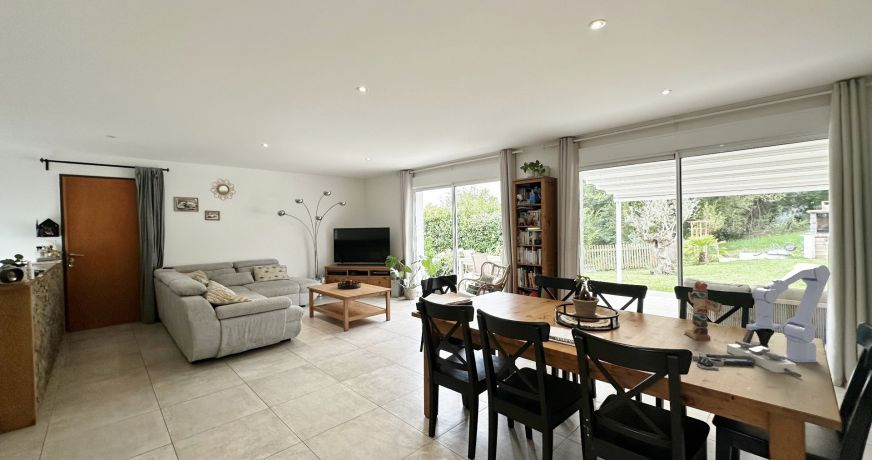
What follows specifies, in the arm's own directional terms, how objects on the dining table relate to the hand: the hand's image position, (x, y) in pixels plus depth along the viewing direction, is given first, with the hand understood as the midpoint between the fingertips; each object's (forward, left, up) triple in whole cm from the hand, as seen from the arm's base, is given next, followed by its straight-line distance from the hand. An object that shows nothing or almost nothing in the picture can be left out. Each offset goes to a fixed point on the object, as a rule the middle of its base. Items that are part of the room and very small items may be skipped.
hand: (763, 345), depth 161 cm
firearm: (+21, +3, -8) cm, 22 cm away
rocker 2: (+2, 0, -2) cm, 3 cm away
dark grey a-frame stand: (-16, -21, -8) cm, 27 cm away
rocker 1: (+2, -7, -2) cm, 8 cm away
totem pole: (+5, -33, -7) cm, 34 cm away
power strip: (+2, +3, -7) cm, 8 cm away
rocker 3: (+2, +7, -2) cm, 8 cm away
